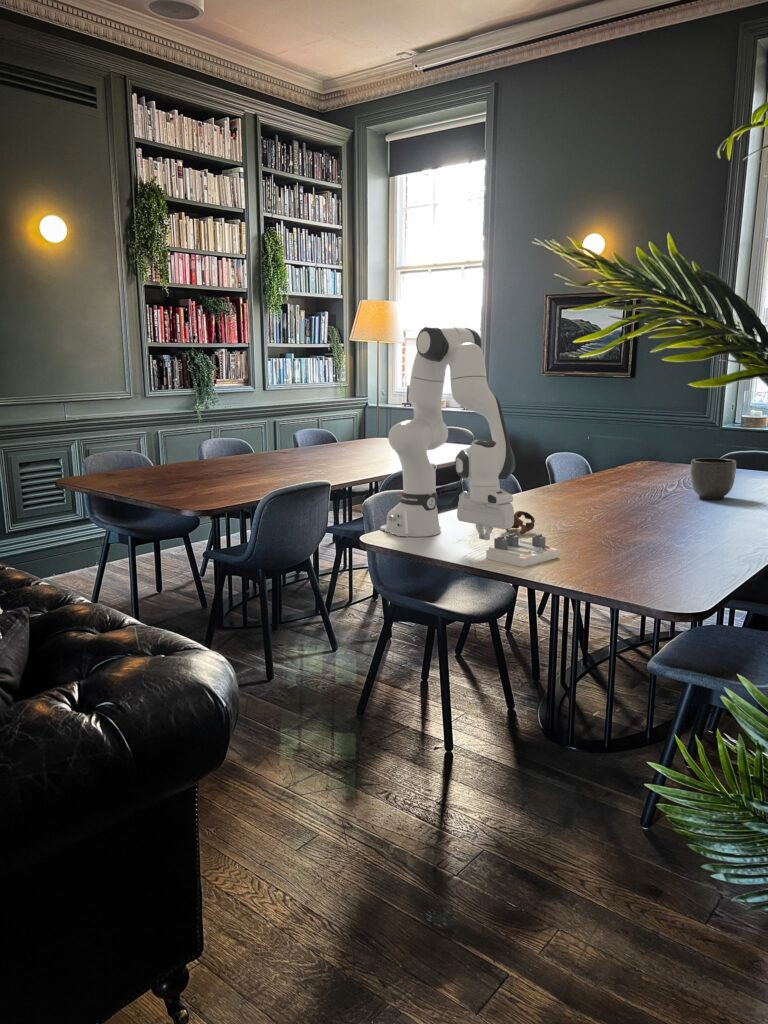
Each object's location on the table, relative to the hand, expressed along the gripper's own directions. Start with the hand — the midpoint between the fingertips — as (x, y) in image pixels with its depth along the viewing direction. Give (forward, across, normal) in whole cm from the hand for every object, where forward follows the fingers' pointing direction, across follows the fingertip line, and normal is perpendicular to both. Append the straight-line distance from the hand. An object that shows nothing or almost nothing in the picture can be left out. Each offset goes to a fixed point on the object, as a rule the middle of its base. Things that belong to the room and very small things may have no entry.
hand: (484, 539), depth 231 cm
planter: (+5, 0, +139) cm, 139 cm away
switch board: (+5, +11, +5) cm, 13 cm away
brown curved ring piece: (+5, -14, +31) cm, 35 cm away
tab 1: (+2, +7, 0) cm, 7 cm away
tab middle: (+2, +7, +5) cm, 9 cm away
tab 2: (+2, +13, +10) cm, 16 cm away
